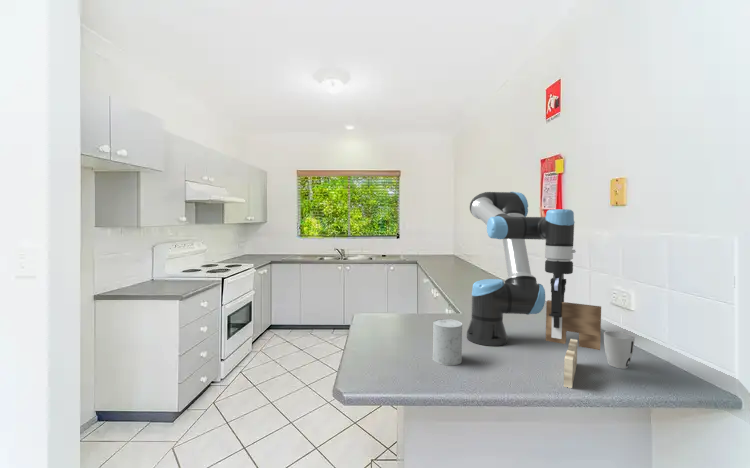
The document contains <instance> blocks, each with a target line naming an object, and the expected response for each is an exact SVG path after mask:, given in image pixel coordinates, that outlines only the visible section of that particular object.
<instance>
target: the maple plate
mask: <svg viewBox="0 0 750 468" xmlns="http://www.w3.org/2000/svg"><path fill="white" fill-rule="evenodd" d="M578 344H579V339H575V338H570V340H569V342H568V347H567V350H566V352H565V354H564V361H563V362H564V364H563V366H564V367H563V387H564V388H567V387H568V389H571V388H572V389H573V386H574V380H575V376H576V371H577V365H578Z"/></svg>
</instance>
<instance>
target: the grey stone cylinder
mask: <svg viewBox="0 0 750 468" xmlns="http://www.w3.org/2000/svg"><path fill="white" fill-rule="evenodd" d="M432 323H433V325H432V326H433V327H432V330H433V331H432V333H433V334H432V361H433V362H434V363H436V364H440V365H442V366H457V365H460V364H462V362H463V359H462V358H463V357H462V354H463V353H462V352H463V350H462V349H463V323H462V322H461V321H460V320H457V319H450V318H438V319H434V320H433V322H432Z"/></svg>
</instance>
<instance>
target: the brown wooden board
mask: <svg viewBox="0 0 750 468" xmlns="http://www.w3.org/2000/svg"><path fill="white" fill-rule="evenodd" d="M545 305H546V307H545V308H546V309H545V311H546V313H545V341H546V342H551V343H557V344H563V345H566V343H567V332H571V333H576V334H577V333H578V347H580V348H585V349H590V350H591V349H592V350H596V351H601V340H602V339H601V334H602V333H601V332H602V325H601V324H602V306H601V305H591V304H584V303H575V302H565V301H564V302H562V314H561V315H562V339H558V338H552V337H551V331H552V316H549V314H551V300H550V299H549V300H547V301H545Z"/></svg>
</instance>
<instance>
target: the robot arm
mask: <svg viewBox="0 0 750 468" xmlns="http://www.w3.org/2000/svg"><path fill="white" fill-rule="evenodd" d="M528 202H529V201H528V200H527V197H526V196H525V194H524V193H522V192H517V191H508V192H507V191H485V192H481V193H479V194H476V196H474V197H473V198H472V200H471V201H470V203H469V211H470V214H471V215H472V216H473V217H474V218H475V219H477V220H480V221H482V222H483V223H484V224H485V225H486V232H487V236H488V237H489V238H490V239H496V240H502V244H503V251H504V257H505V265H506V271H507V277H506V278H505V280H503V279H501V278H500V279H498V278H485V279H481V280H476V281H475V282H474V283H473V284H472V290H471V320H470V322H469V325H468V328H467V330H466V340H469V341H470V342H472V343H474V344H477V345H482V346H488V347H489V346H490V347H497V346H498V347H499V346H503V345H506V344H507V343H508V334H507V331H506V327H505V324H504V320H503V318H504V314H509V315H527V316H528V315H538V314H539V313H541V311H542V310H543V308H544V307H545V305H546V289H545V287H544V285H543V284H541V283H538V282H537V278H536V276H534V275H533V274H532V272H531V265H530V261H529V256H528V251H527V245H526V240H539V241H540V240H545V245H544V246H545V247H544V250H545V251H544V259H545V261H544V271H545V272H546V273H548V274H552V276H553V277H551V278H550V287H551V288H550V294H551V297H550V299H551V300H550V301H551V314H549V316H552V331H551V337H552V338H558V339H562V315H561V314H562V302H565V293H566V285H567V279H566V278H565V275H571V274H573V272H574V262H573V261H572V260H573V259H574V254H576V252H577V251H576V249H574V235H575V233H574V232H575V223H576V222H575V213H574V210H572V209H568V208H567V209H565V208H564V209H562V208H561V209H559V208H555V209H548V210H547V211H546V213H545V216H528V213H529V203H528Z"/></svg>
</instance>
